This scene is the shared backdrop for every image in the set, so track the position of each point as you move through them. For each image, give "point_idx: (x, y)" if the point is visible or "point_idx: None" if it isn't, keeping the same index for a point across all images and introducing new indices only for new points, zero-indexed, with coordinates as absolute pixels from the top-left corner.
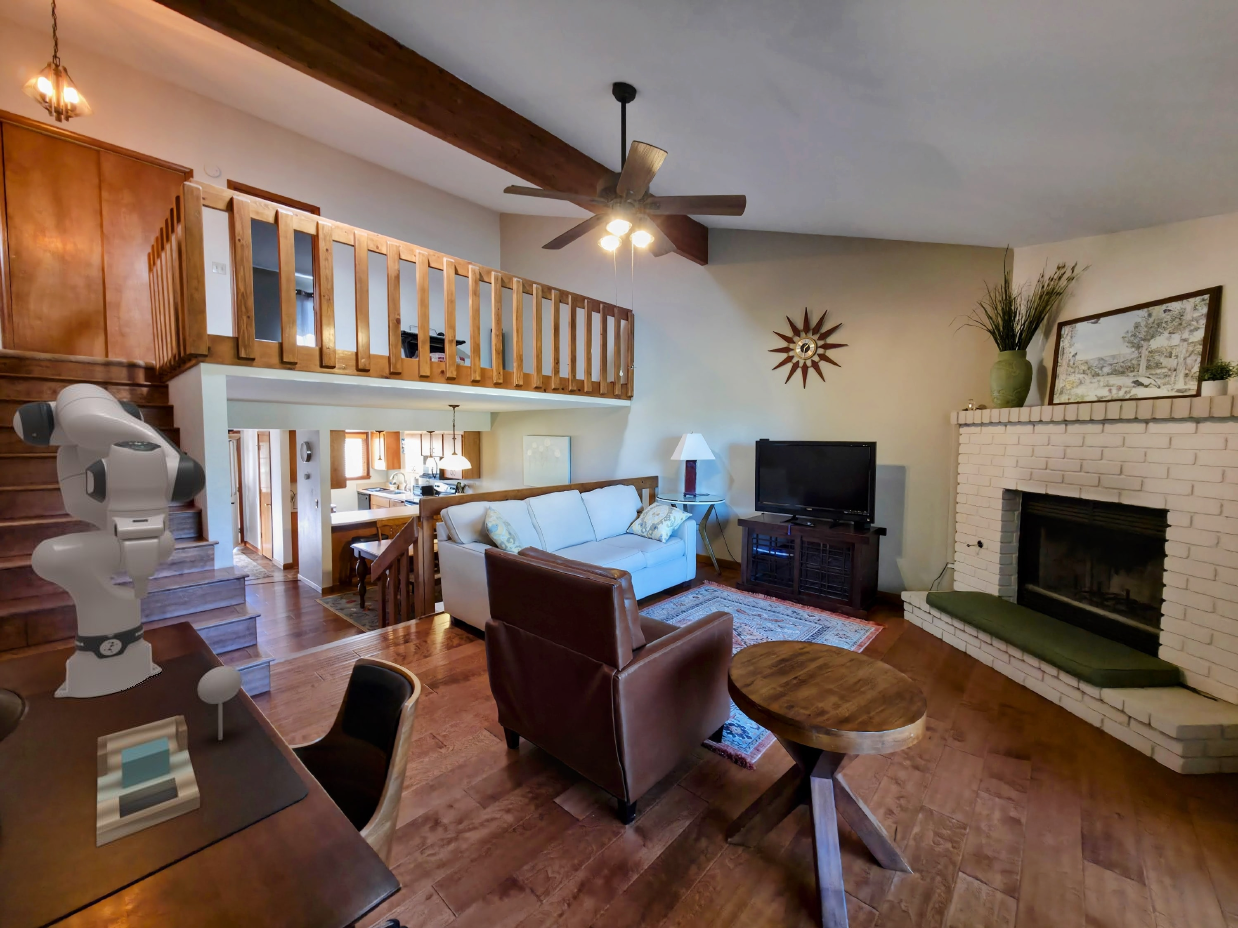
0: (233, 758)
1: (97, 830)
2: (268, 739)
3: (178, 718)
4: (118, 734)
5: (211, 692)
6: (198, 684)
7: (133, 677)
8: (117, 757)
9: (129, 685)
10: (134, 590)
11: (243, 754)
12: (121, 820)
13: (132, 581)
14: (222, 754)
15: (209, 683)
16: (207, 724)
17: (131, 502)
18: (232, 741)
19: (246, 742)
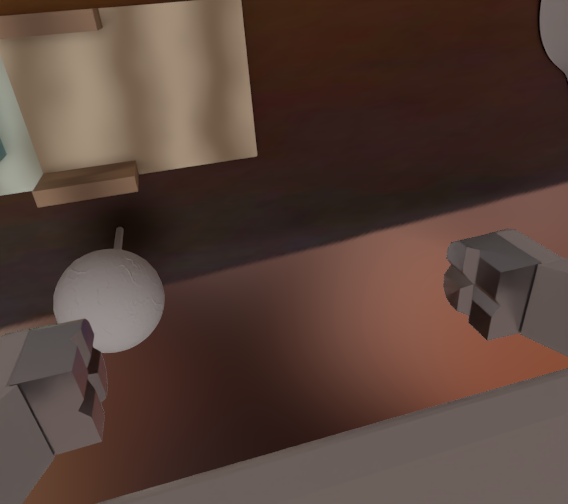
0: (8, 257)
1: None
2: None
3: (120, 183)
4: (229, 40)
5: (55, 289)
6: (103, 264)
7: (565, 44)
8: (87, 50)
9: (546, 35)
10: (67, 358)
11: (17, 272)
12: None
13: (527, 252)
14: (40, 238)
15: (61, 298)
16: (213, 202)
17: None
18: (94, 250)
19: None
